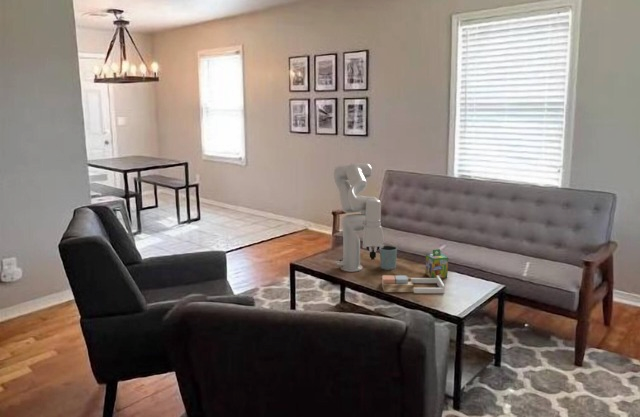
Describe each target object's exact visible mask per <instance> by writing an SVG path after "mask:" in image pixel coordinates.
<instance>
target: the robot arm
mask: <svg viewBox="0 0 640 417" xmlns="http://www.w3.org/2000/svg"><path fill="white" fill-rule="evenodd" d="M372 175H373V169H372V166H371V165H370V164H369V163H365V162H361V163H360V162H359V163H357V162H356V163H350V164H342V165H338V166H336V167H335V168H334V169H333V179H334V183H335V185H336V187H337V188H338V194H339V198H340V205H341V209H342V211H343V213H347V214H346V215H344V216H343V217H342V219H341V227H342V235H343V237H342V238H343V239H342V240H343V241H342V242H343V243H342V245H343V246H342V247H343V248H342V250H343V251H342V252H343V253H342V255H343V256H342V258H343V259H342V260H341V261H338V260H337V261H336V260H335V264H334V265H336V266H340V270H342V271H343V272H351V273H352V272H353V273H354V272H359V271H361V270H363V265H362V264H361V248H362V249H366V250H367V251H368V252H369V258H370V260H371V261H372V260H373V261H374V260H375V258H377V256H376V255H377V251H379V249H380V248H383V246H384V230H383V229H384V228H383V226H382V225H381V224H382V223H381V221H382V220H381V217H382V212H381V210H382V202H381V200H380V199H378V198H377V197H375V196H373V195H372V196H365V195H357V194H359V193H361V192H363V191H364V190H365V189H367V186H368V182H367V180H368V179H370V178H371V177H372ZM366 179H367V180H366ZM357 232H363V233H362V246H361V238H360V236H359V234H358V233H357ZM372 247H373V249H372Z"/></svg>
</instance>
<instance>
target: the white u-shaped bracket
mask: <svg viewBox="0 0 640 417" xmlns="http://www.w3.org/2000/svg"><path fill="white" fill-rule="evenodd" d="M410 278H411V283H412V284H437V286H438V287H414V292H413V293H414V294H445V288H446V286H445V284H444V282H443V281H442V278H440V277H439V275H437V278H431V277H410Z"/></svg>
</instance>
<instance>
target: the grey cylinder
mask: <svg viewBox="0 0 640 417" xmlns="http://www.w3.org/2000/svg"><path fill="white" fill-rule="evenodd" d="M378 251H379V261H380V268H381V269H383V270H386V271H391V270H395V269H396V268H397V256H398V255H397V253H398V247H397V246H395V245H390V244H389V245H388V244H387V245H384V244H383V248H380V249H378Z"/></svg>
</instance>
